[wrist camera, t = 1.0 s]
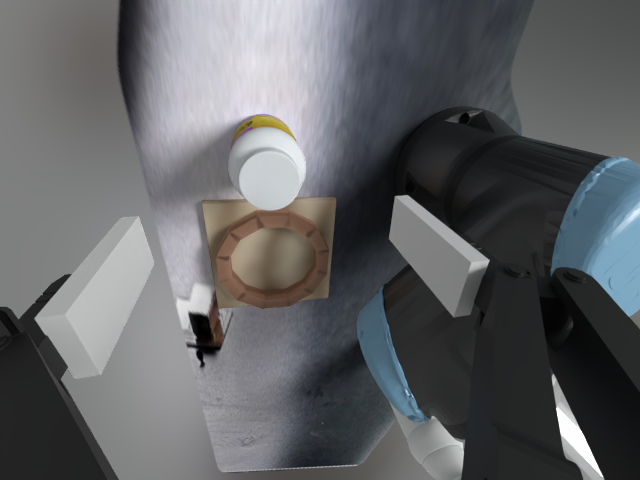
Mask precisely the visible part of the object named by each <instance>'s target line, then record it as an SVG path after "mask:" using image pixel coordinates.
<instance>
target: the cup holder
mask: <svg viewBox="0 0 640 480" xmlns="http://www.w3.org/2000/svg"><path fill="white" fill-rule="evenodd" d="M202 207H203V214H204V220H205V226H206V233H207V239H208V245H209V252H210V258H211V265H212V271H213V277H214V284H215V290H216V297H217V303H218V309H220V308H230V307H240V306H250V305H253V306H256V307H259V308H262V309H264V308H274V307H284V306H290V305H292V304H294V303H296V302H298V301H302V300H312V299H322V298H328V293H329V281H330V269H331V258H332V246H333V234H334V223H335V211H336V198H335V197H314V198H295V199H294V200H293V201H292V202H291V203H290V204H289V205H287V206H286V207H284V208H281V209H278V210H271V211H269V210H262V209H259V208H256V207H254V206H253V205H251V204H250V203H249V202H248V201H247V200H246V199H238V200H203V202H202Z"/></svg>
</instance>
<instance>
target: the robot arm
mask: <svg viewBox="0 0 640 480" xmlns="http://www.w3.org/2000/svg"><path fill="white" fill-rule="evenodd" d="M395 186H396V192H397V195H398V196H395V200H394V207H393V214H392V221H391V228H390V235H389V240H390V241H391V242H392V243H393V244H394V246H395V247H396V248H397V249H398V251H399V252H400V253H401V254H402V255H403V257H404V258H405V259H406V260H407V261H408V263H409V264H408V265H407V266H405V267H404V268H403V269H402V270H401V271H400V272H399V273H398V274H397V275H396V276H395V277H393V278H392V279H391V280H390V281H389V282H388V283H387V284H384V285H382V286H381V287H380V289H379V292H378V293H377V294H376V295H375V296H374V297H373V298H372V299H371V300H370V301H369V302H368V303H367V304H366V305H365V306H364V307H363V308H362V310H361V311H360V313H359V316H358V320H357V334H358V339H359V342H360V347H361V350H362V353H363V356H364V358H365V361H366V363H367V365H368V367H369V369H370V371H371V373H372V375H373V377H374V379H375V381H376V382H377V384H378V386H379V387H380V389H381V390H382V392H383V393H384V395H385V396H386V397H387V399H388V400H389V401H390V403H391V404H392V405H393V406H394V407H395V408H396V409H397V410H398V411H399V412H400V413H401V414H402V415H403V416H407V417H408V419H409V420H411V421H413V422H416V423H421V422H423V421H424V422H428V421H429V420H431V417H432V416H434V417H435V418H436V419H437V420H438V421H439V422H440V423H441V424H442V426H443V427H444V428H445V429H446V430H447V431H448V433H449V434H450V435H451V436H452V437H453V438H454V439H455V440H457V441H459V442H462V443H465V448H464V457H463V467H462V476H461V480H640V329H639V328H638V327H637V325H636V324H635V323H634V322H633V321H632V320H631V319H630V318H629V317H630V316H631V315H633V314H634V313H635V312H637V311H638V310H639V309H640V164H637V163H634V162H632V161H630V160H629V159H627V158H623V157H610V156H605V155H601V154H597V153H592V152H588V151H584V150H579V149H575V148H571V147H566V146H562V145H557V144H553V143H549V142H545V141H540V140H536V139H532V138H527V137H523V136H521V135H520V134H518V133H517V132H516V131H515V130H514V129H513V128H512V127H510V126H509V125H508V124H507V123H506V122H505V121H504V120H502V119H501V118H500V117H499V116H497V115H496V114H494V113H492V112H490V111H487V110H484V109H479V108H473V107H454V108H450V109H447V110H444V111H442V112H439V113H437V114H436V115H434V116H432V117H431V118H429V119H428V120H427V121H425V122H424V123H423V124H422V125H421V126H420V127H419V128H418V129H417V130H416V131H415V132H414V133H413V134H412V136H411V137H410V138H409V140H408V141H407V143H406V144H405V146H404V148H403V150H402V152H401V154H400V157H399V160H398V163H397V167H396V173H395ZM154 264H155V263H154V260H153V257H152V254H151V251H150V248H149V245H148V242H147V239H146V236H145V233H144V230H143V227H142V224H141V221H140V218H139V216H133V217H121V218H120V219H119V221H118V222H117V223H116V224H115V225H114V226H113V227H112V228H111V230H110V231H109V232H108V233H107V234H106V235H105V237H104V238H103V239H102V240H101V241H100V242H99V244H98V245H97V246H96V247H95V248H94V249H93V251H92V252H91V253H90V254H89V255H88V256H87V258H86V259H85V260H84V261H83V262H82V264H81V265H80V266H79V267H78V268H77V269H76V270H75V272H74V273H73V274H68V275H64V276H63V277H61V278H60V279H58V280H57V281H55V282H54V283H52V284H51V285H50V286H49V287H48V288H47V289H46V290H45V291H44V292H43V295H41V296H40V297H39V298H38V299H37V300H36V301H35V302H36V303H34V304H33V305H32V306H31V307H30V308H29V309H28V310H27V311H26V312H25V313H24V314H23V315H22V316H21V318H20V319H19V320H18V318H17V317H16V316H15V314H14V313H13V312H12V310H11V309H9V308H8V307H0V480H119V479H118V478H117V476H116V474H115V472H114V471H113V469H112V467H111V465H110V464H109V462H108V460H107V458H106V457H105V455H104V453H103V451H102V450H101V448H100V446H99V445H98V443H97V441H96V439H95V438H94V436H93V434H92V432H91V430H90V429H89V427H88V425H87V423H86V422H85V420H84V418H83V416H82V415H81V413H80V411H79V409H78V408H77V406H76V404H75V402H74V401H73V399H72V397H71V395H70V394H69V392H68V390H67V389H66V387H65V385H64V384H63V382H62V381H61V377H62V376H63V374H64V373H65V371H66V369H67V368H68V370H69V371H70V373H71V374H72V376H73V377H74V379H81V378H87V377H93V376H100V375H101V374H102V372H103V370H104V368H105V366H106V364H107V362H108V359H109V357H110V355H111V353H112V351H113V349H114V347H115V345H116V343H117V341H118V339H119V337H120V335H121V332H122V330H123V328H124V326H125V324H126V322H127V320H128V318H129V316H130V314H131V312H132V310H133V308H134V306H135V303H136V301H137V299H138V297H139V295H140V293H141V291H142V289H143V287H144V284H145V283H146V281H147V279H148V277H149V275H150V272H151V270H152V268H153V266H154Z"/></svg>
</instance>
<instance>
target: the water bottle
mask: <svg viewBox="0 0 640 480" xmlns="http://www.w3.org/2000/svg"><path fill="white" fill-rule="evenodd" d="M390 404H391V403H390ZM391 406H392V409H393V411H394V413H395V416H396V418H397V420H398V422H399V424H400V426H401V429H402V431H403V433H404V435H405V436H406V438H407V440H408V446H409V449H410V452H411V453H412V455H413V456H414V457H415V459H416V460H417V461H418V462H419V463H420V464H421V465H422V466H423V467H424V468H425V469H426V471H427V472H428V473H429V474H430V475H431V476H432V477H433V478H435V479H436V480H461V476H462V467H463V457H464V451H463V444H462V442H459V441H457V440H455V439H454V438H453V437H452V436H451V435H450V434H449V433H448V431H447V430H446V429H445V428H444V427H443V426H442V424H441V423H440V422H439V421H438V420H437V419H436V418H435V417H434V416H432V417H431V420H429V421H428V422H424V421H423V422H421V423H416V422H413V421H411V420H409V419H408V417H407V416H403V415H402V414H401V413H400V412H399V411H398V410H397V409H396V408H395V407H394V406H393V405H392V404H391Z"/></svg>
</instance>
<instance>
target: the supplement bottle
mask: <svg viewBox="0 0 640 480" xmlns="http://www.w3.org/2000/svg"><path fill="white" fill-rule="evenodd" d="M228 172H229V176H230V179H231V181H232V183H233V185H234V187H235V188H236V190H237V191H238V192H239V193H240V194H241V195H242V196H243V197H244V198H245V199H246V200H247V201H248V202H249V203H250V204H251V205H253V206H254V207H256V208H259V209H262V210H269V211H271V210H278V209H281V208H284V207H286V206H287V205H289V204H290V203H291V202H292V201H293V200H294V199H295V198H296V196H297V194H298V192H299V189H300V188H301V186H302V184H303V182H304V179H305V175H306V160H305V156H304V153H303V151H302V149H301V147H300V146H299V144H298V143H297V141H296V139H295V138H294V136H293V134H292V133H291V131H290V129H289V128H288V127H287V125H286V124H285V123H284V122H283V121H281V120H280V119H278V118H276V117H274V116H272V115H268V114H257V115H253V116H250V117H248V118H247V119H245V120H244V121H243V122H242V123H241V124H240V125H239V126H238V128H237V130H236V132H235V135H234V138H233V142H232V146H231V150H230V154H229V159H228Z"/></svg>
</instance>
